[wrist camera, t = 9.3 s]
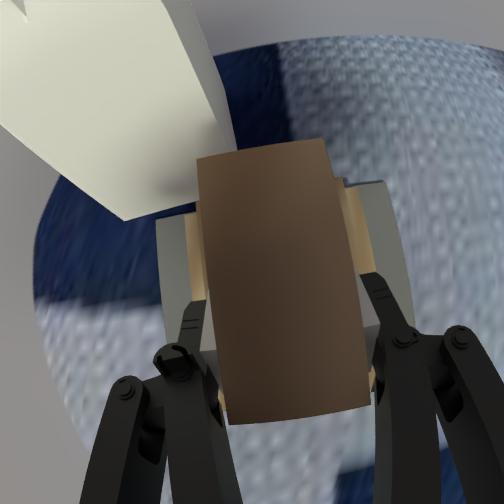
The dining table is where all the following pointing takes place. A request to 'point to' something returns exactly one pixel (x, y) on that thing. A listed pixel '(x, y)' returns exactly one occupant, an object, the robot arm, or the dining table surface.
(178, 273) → the mat
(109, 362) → the dining table surface
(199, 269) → the rack
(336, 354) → the brown wooden block
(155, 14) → the milk
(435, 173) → the dining table surface
